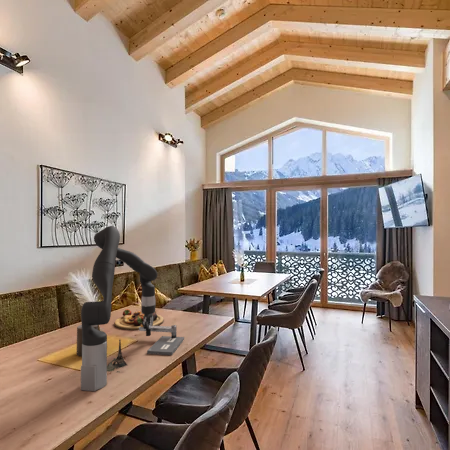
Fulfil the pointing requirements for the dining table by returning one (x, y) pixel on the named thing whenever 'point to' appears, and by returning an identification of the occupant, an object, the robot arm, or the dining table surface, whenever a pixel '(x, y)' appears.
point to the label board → (165, 345)
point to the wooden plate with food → (135, 320)
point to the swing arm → (162, 329)
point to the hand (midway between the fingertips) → (148, 335)
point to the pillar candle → (79, 339)
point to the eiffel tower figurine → (119, 361)
